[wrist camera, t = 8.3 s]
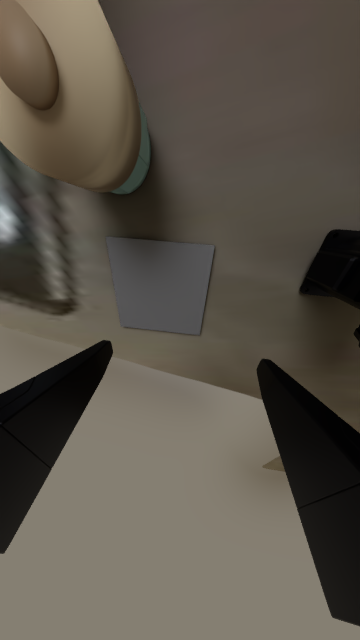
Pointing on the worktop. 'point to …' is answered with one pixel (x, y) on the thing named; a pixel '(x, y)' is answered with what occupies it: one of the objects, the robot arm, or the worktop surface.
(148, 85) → the worktop surface
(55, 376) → the robot arm
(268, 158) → the worktop surface
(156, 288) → the mat
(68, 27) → the lid
